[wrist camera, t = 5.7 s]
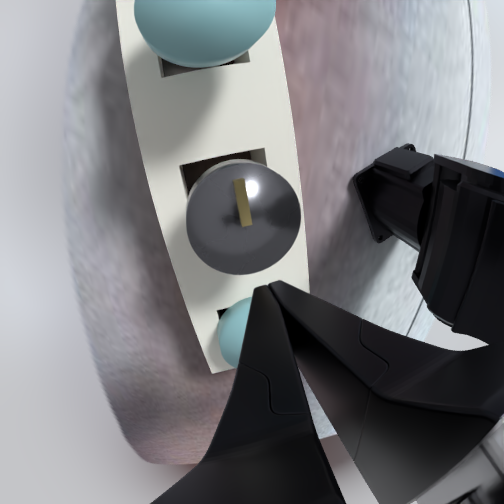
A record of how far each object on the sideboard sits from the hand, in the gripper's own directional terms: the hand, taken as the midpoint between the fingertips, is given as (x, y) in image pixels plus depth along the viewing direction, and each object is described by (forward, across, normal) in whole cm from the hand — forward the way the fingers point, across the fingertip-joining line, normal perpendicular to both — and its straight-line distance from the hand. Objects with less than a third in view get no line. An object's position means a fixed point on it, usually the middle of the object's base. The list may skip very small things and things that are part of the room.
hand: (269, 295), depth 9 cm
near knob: (+8, -1, -10) cm, 13 cm away
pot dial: (+8, 0, -1) cm, 8 cm away
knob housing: (+12, 0, -1) cm, 12 cm away
